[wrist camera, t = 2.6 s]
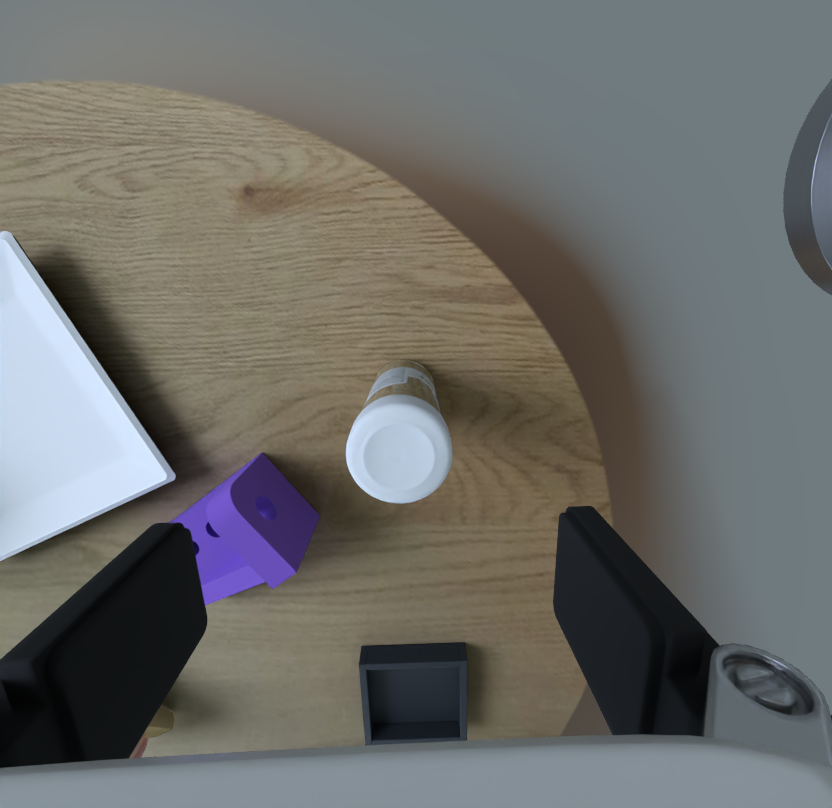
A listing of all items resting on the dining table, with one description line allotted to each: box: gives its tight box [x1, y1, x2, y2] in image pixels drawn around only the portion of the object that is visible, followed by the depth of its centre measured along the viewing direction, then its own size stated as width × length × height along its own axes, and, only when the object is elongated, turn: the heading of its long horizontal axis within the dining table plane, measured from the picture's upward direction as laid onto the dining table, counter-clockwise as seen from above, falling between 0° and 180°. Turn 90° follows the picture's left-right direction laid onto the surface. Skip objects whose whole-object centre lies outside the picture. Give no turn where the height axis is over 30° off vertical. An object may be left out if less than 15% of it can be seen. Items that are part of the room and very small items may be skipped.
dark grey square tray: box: [359, 643, 467, 745], centre depth 36 cm, size 9×9×2 cm
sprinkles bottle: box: [346, 359, 452, 503], centre depth 23 cm, size 5×5×14 cm
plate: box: [0, 231, 176, 561], centre depth 28 cm, size 19×19×2 cm
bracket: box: [170, 453, 320, 605], centre depth 29 cm, size 12×7×7 cm, turn 127°
